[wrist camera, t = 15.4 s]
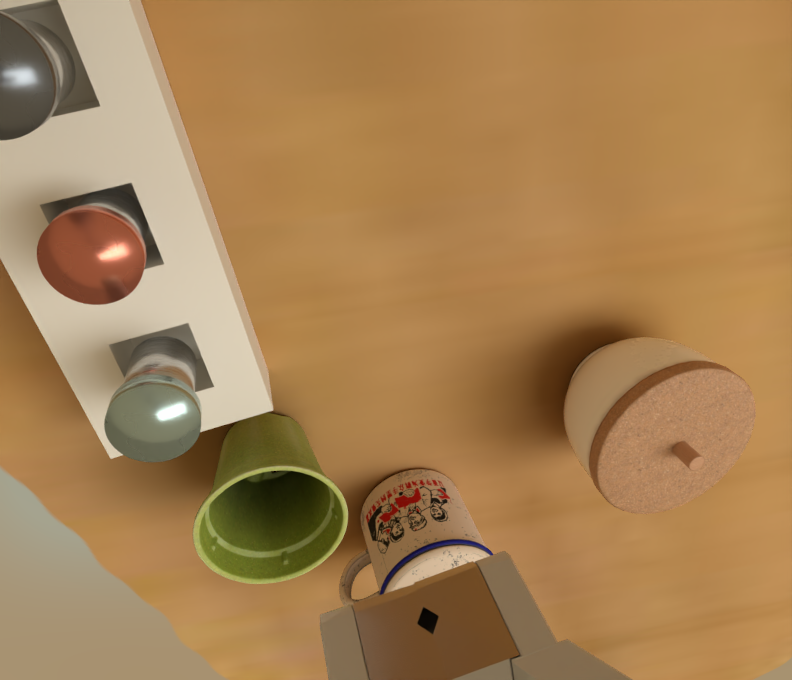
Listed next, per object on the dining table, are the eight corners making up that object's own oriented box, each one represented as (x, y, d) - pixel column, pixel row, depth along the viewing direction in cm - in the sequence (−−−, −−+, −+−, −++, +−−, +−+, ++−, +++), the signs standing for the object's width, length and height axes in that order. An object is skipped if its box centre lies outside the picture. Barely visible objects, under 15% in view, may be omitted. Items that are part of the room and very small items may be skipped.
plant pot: (170, 430, 42) (160, 518, 35) (291, 368, 42) (306, 442, 35) (240, 512, 47) (244, 605, 40) (348, 457, 47) (371, 538, 40)
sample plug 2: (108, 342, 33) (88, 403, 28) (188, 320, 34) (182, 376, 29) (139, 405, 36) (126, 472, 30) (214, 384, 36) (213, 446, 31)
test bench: (-108, -36, 28) (-168, -46, 23) (114, -77, 29) (96, -93, 25) (122, 412, 41) (110, 458, 36) (268, 370, 42) (273, 410, 38)
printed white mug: (438, 446, 49) (494, 555, 39) (473, 516, 54) (531, 629, 44) (306, 514, 49) (328, 641, 39) (352, 578, 54) (383, 706, 44)
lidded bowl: (528, 343, 47) (606, 425, 37) (674, 290, 48) (786, 356, 38) (547, 462, 53) (618, 558, 44) (675, 412, 54) (771, 495, 45)
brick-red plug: (51, 191, 31) (17, 227, 26) (137, 171, 32) (121, 201, 27) (88, 268, 34) (63, 315, 28) (168, 248, 34) (158, 290, 29)
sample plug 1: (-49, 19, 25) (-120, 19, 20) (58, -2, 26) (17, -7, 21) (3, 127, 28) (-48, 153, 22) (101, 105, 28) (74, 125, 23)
